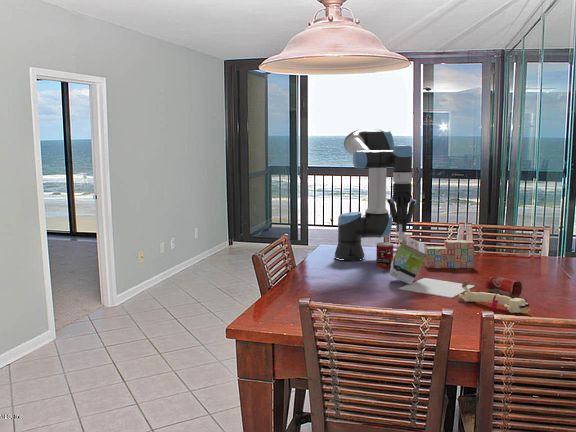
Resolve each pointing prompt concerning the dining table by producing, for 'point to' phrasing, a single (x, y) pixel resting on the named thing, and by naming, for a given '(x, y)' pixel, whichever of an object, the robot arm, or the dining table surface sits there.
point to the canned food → (384, 254)
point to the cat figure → (495, 300)
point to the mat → (436, 287)
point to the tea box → (408, 260)
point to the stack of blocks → (451, 255)
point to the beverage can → (504, 286)
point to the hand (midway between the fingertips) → (401, 239)
